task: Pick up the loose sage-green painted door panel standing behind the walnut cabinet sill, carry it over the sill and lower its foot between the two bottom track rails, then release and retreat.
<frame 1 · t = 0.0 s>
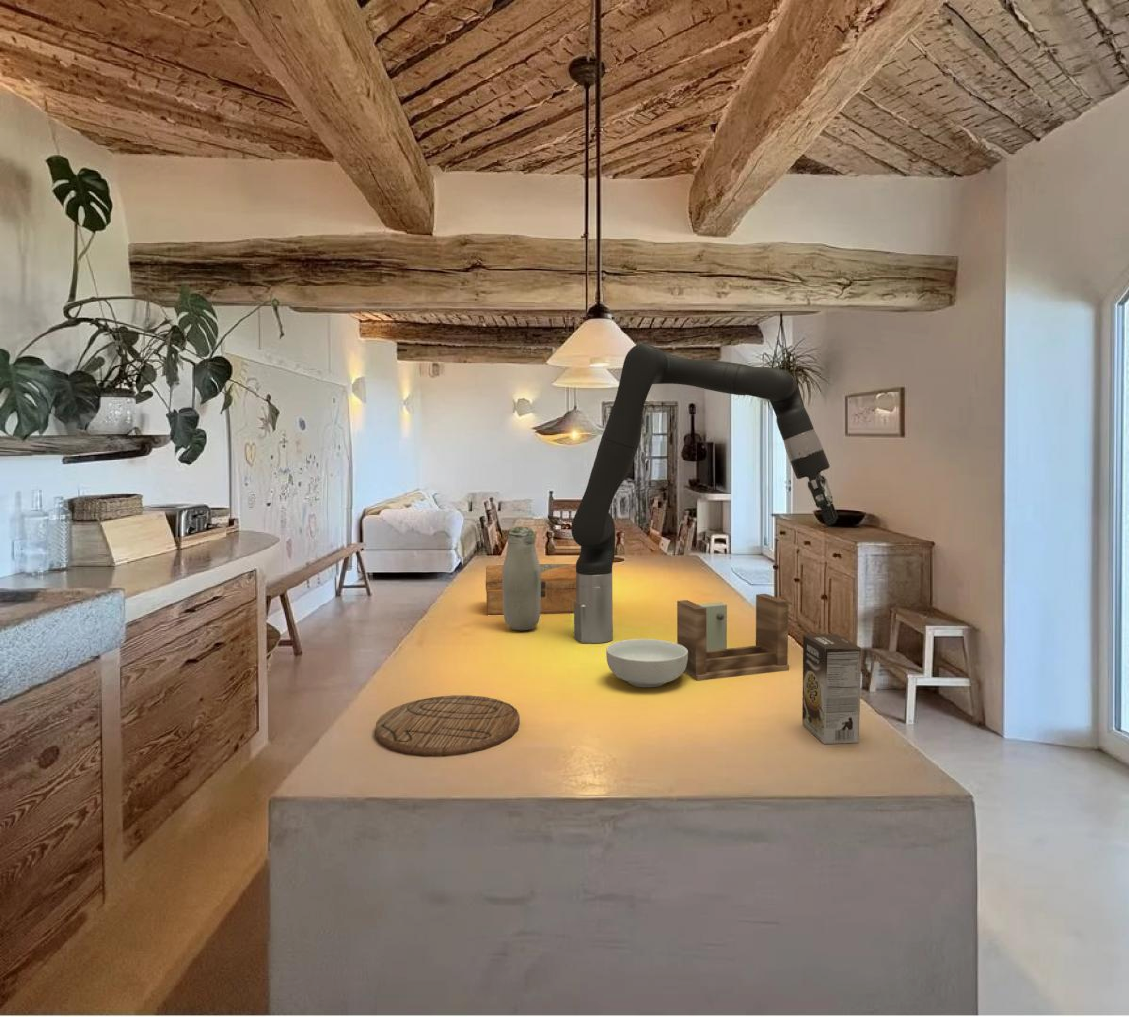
hand: (832, 522, 165), 31 cm above the countertop, tool tilted 20°, fingers open, 8 cm apart
trivet: (448, 730, 131), on the countertop
cereal bowl: (647, 682, 155), on the countertop
coffee box: (829, 734, 126), on the countertop
door frame: (732, 668, 163), on the countertop
door panel: (704, 656, 173), on the countertop
grey green bottle: (522, 630, 201), on the countertop
wooden box: (536, 610, 226), on the countertop
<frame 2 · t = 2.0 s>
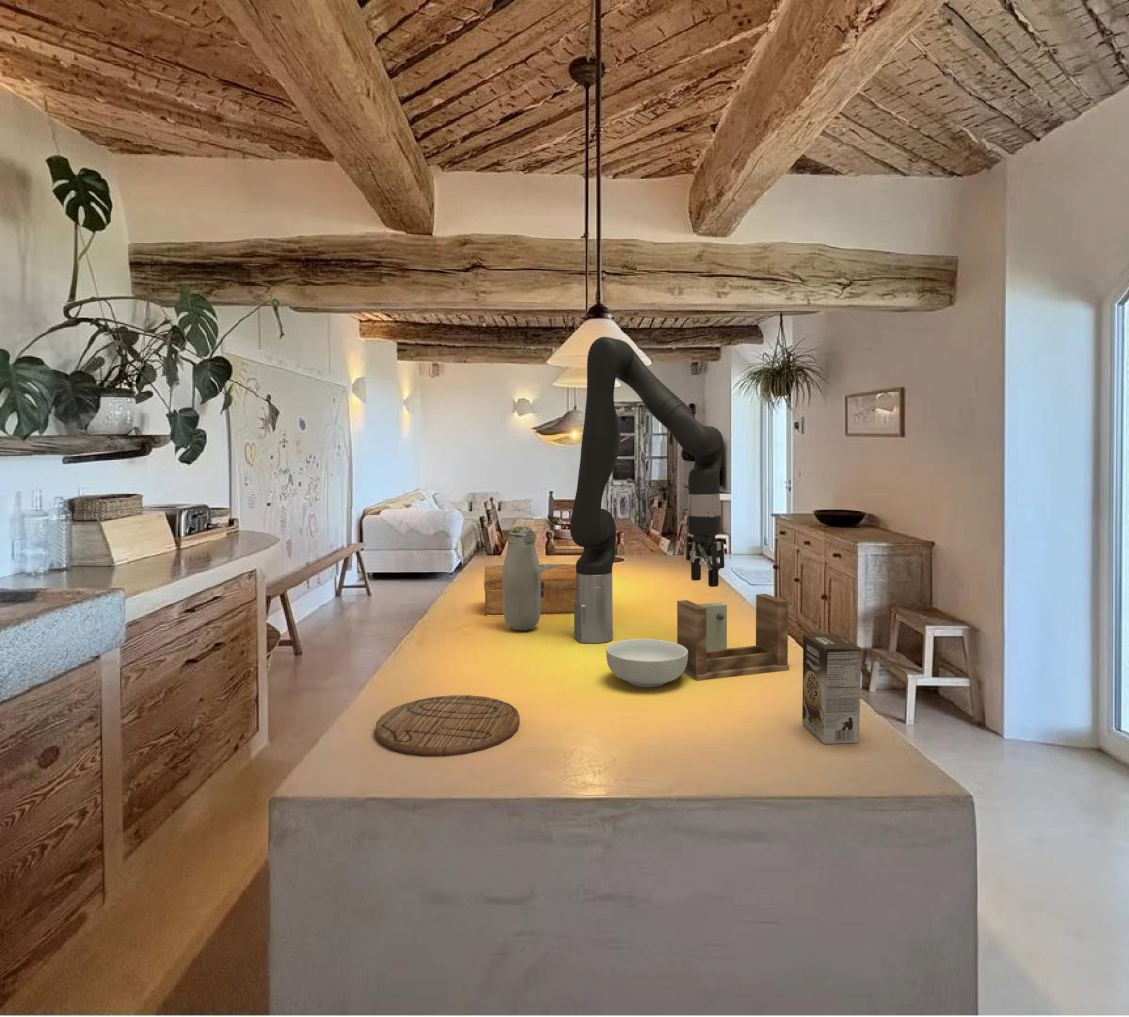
hand: (704, 583, 172), 17 cm above the countertop, tool pointing down, fingers open, 8 cm apart
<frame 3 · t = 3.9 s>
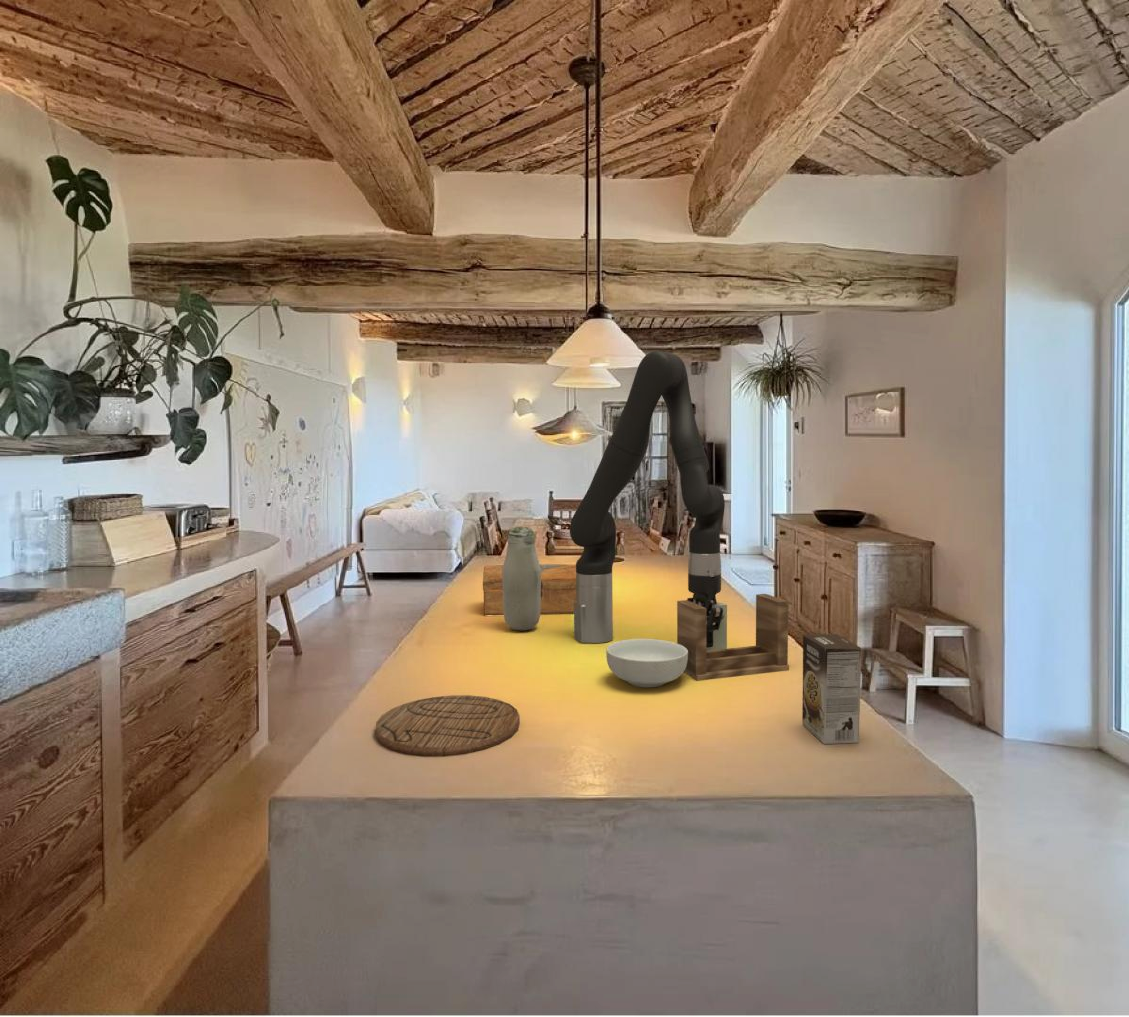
hand: (704, 644, 173), 3 cm above the countertop, tool pointing down, fingers closed on door panel, 3 cm apart
door panel: (704, 655, 173), on the countertop, touching gripper
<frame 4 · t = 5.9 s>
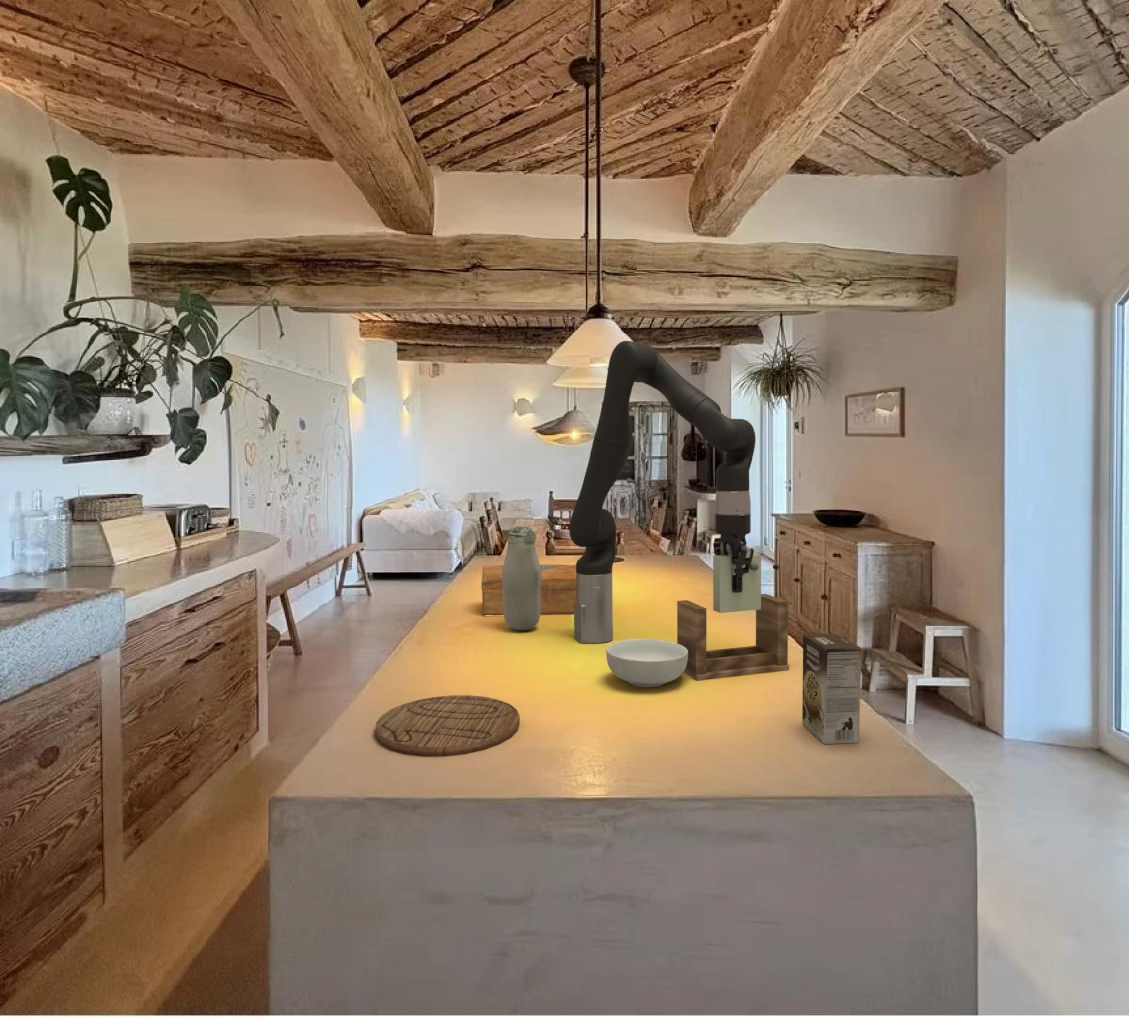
hand: (732, 590, 162), 17 cm above the countertop, tool pointing down, fingers closed on door panel, 3 cm apart
door panel: (737, 609, 162), point 13 cm above the countertop, touching gripper
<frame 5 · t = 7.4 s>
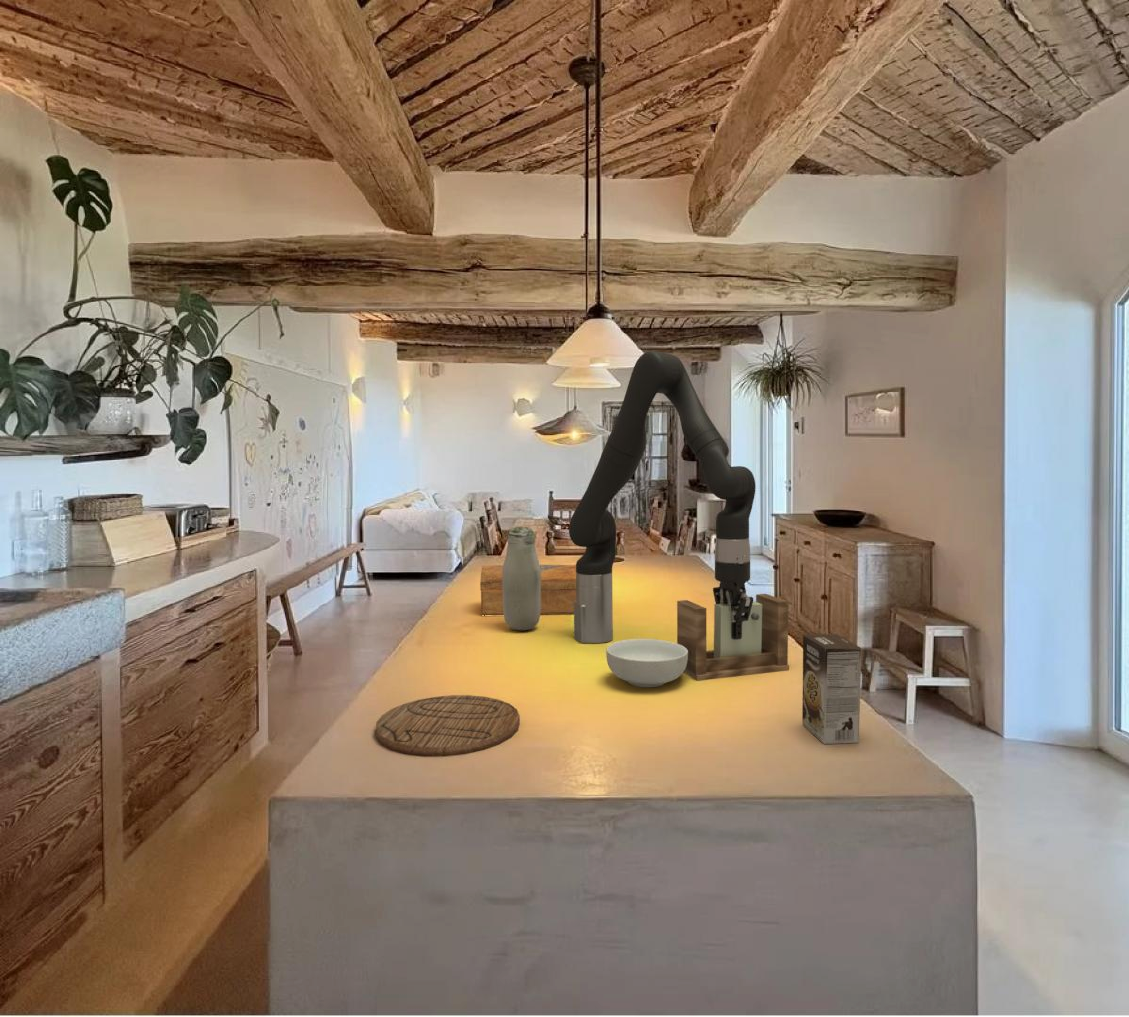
hand: (732, 636, 162), 7 cm above the countertop, tool pointing down, fingers closed on door panel, 3 cm apart
door panel: (737, 658, 163), point 2 cm above the countertop, touching gripper
when the fingers open (6 cm above the countertop, at t = 8.0 s): door panel stays where it is, resting on door frame.
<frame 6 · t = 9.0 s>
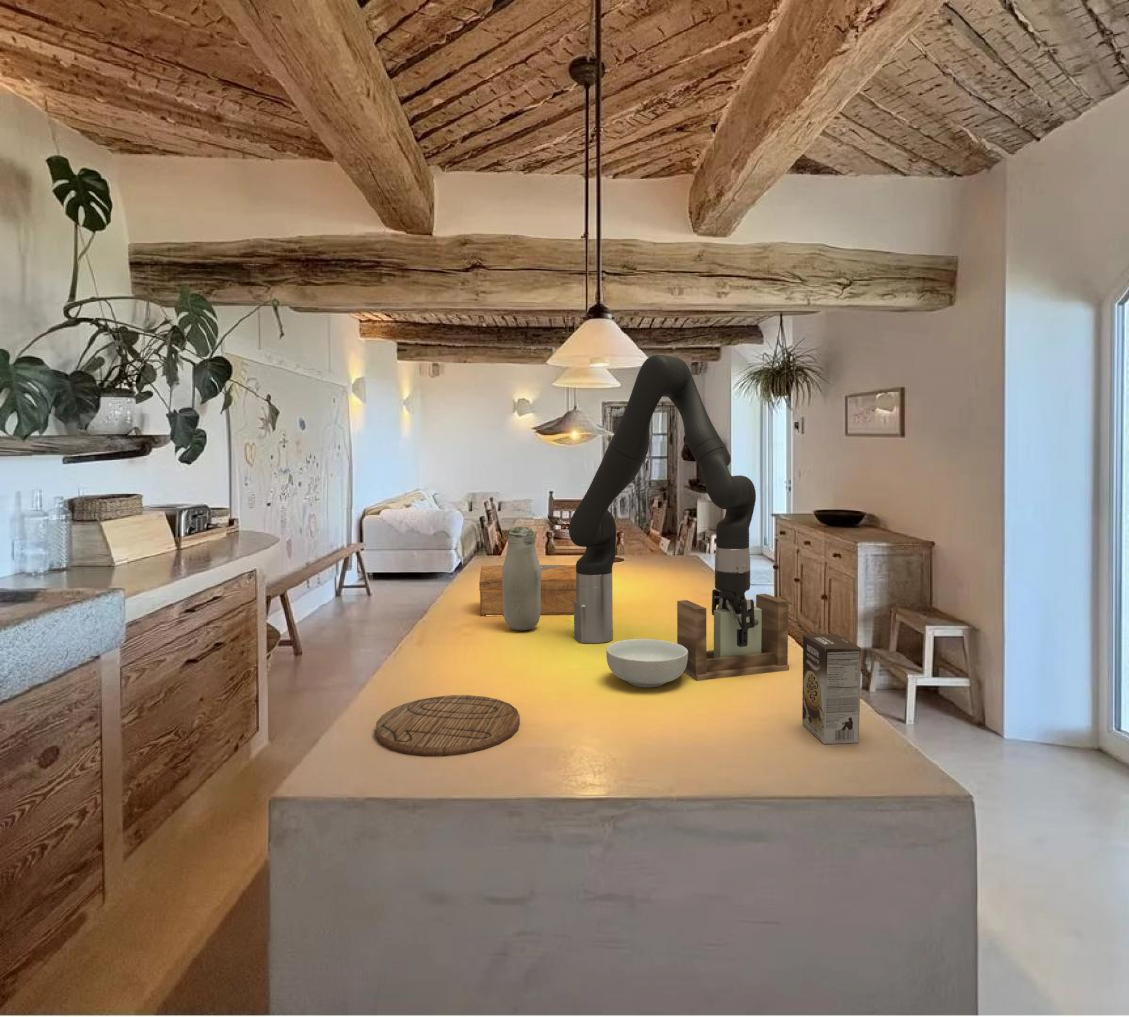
hand: (732, 641, 163), 6 cm above the countertop, tool pointing down, fingers open, 8 cm apart
door panel: (737, 663, 163), point 1 cm above the countertop, touching door frame
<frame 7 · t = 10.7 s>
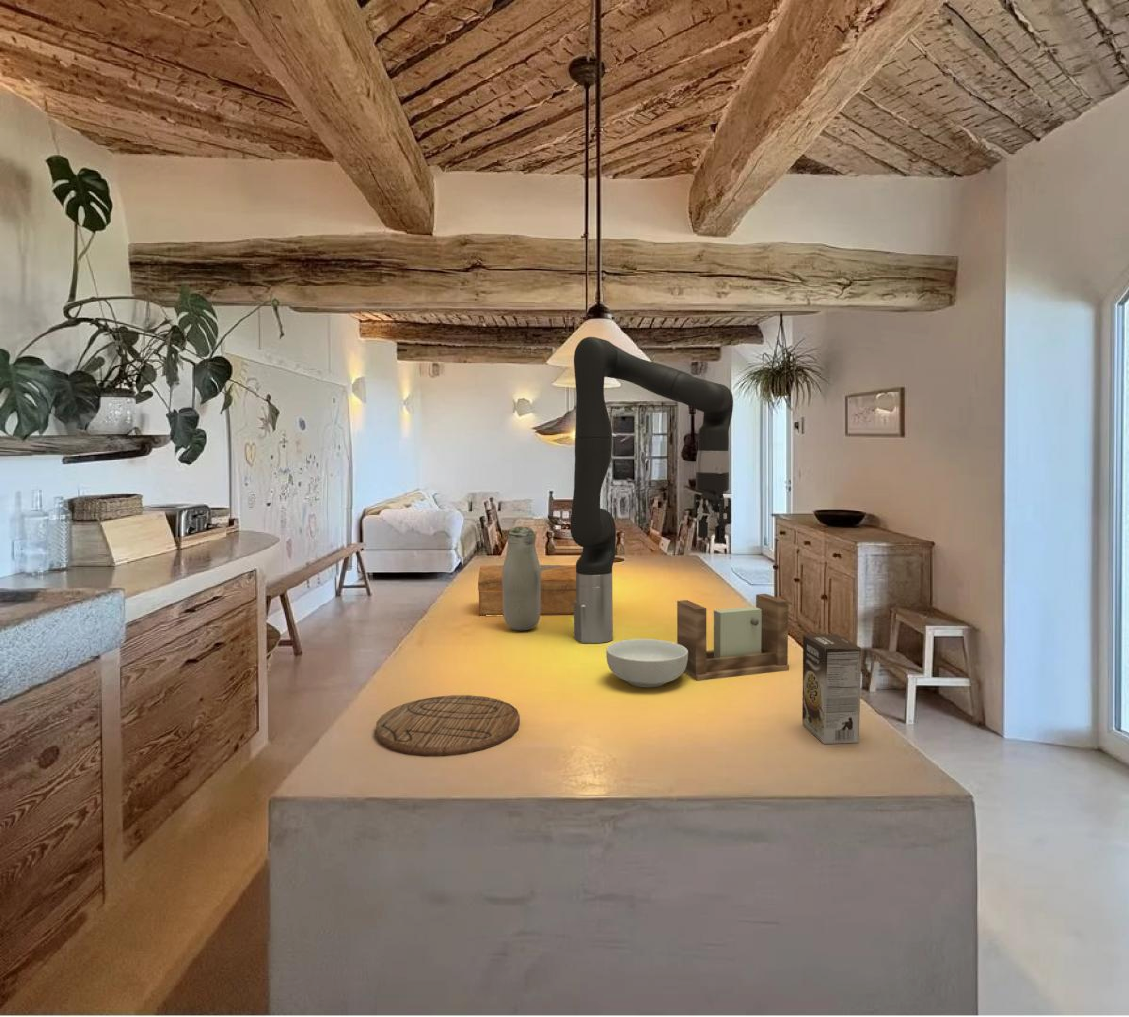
hand: (711, 540, 173), 27 cm above the countertop, tool pointing down, fingers open, 8 cm apart
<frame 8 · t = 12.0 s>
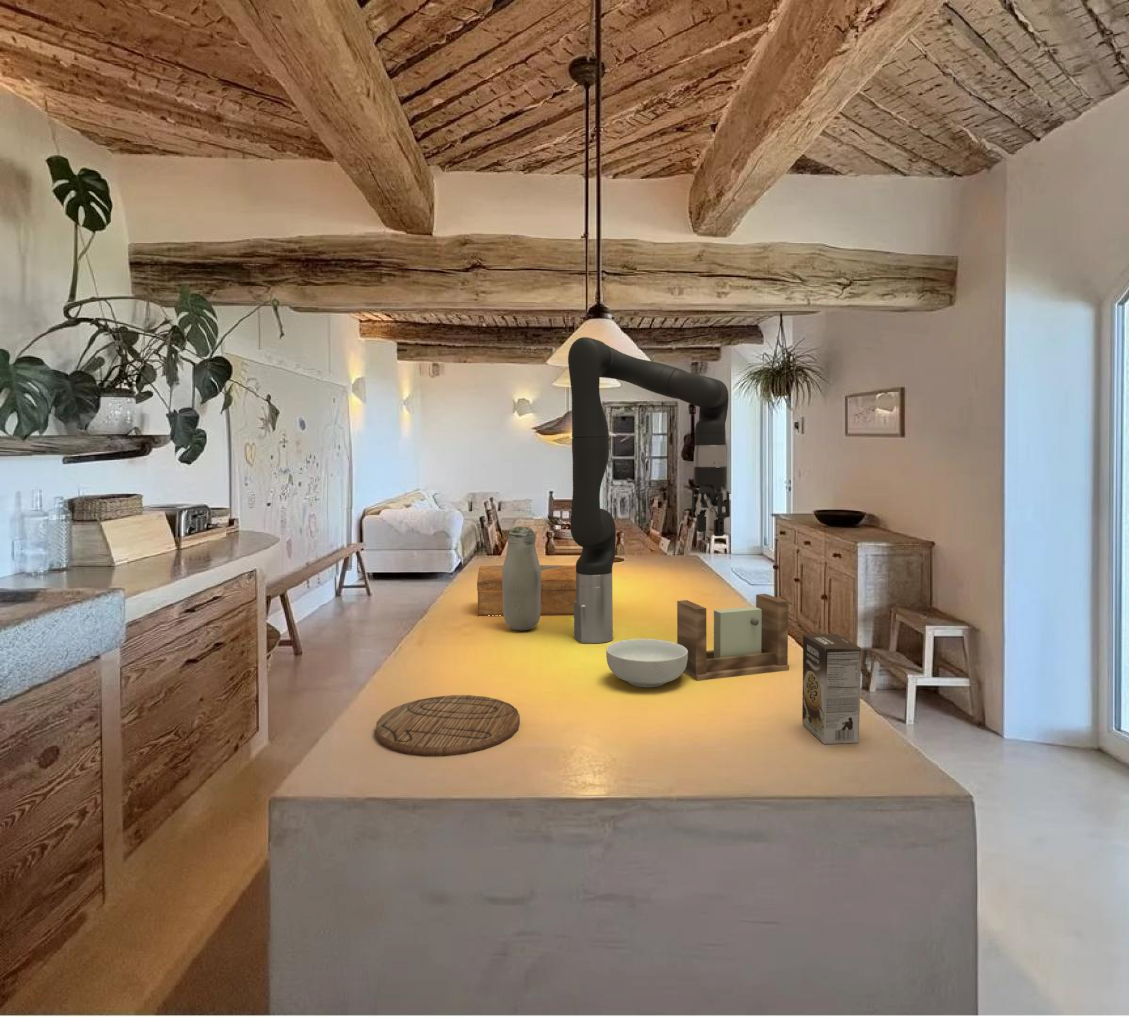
hand: (710, 533, 175), 28 cm above the countertop, tool pointing down, fingers open, 8 cm apart
at the end: door panel inside the target area on the door frame (1.3 cm from its centre), point 1.0 cm above the door frame's base; door panel tilted 0°; the gripper is holding nothing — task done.
